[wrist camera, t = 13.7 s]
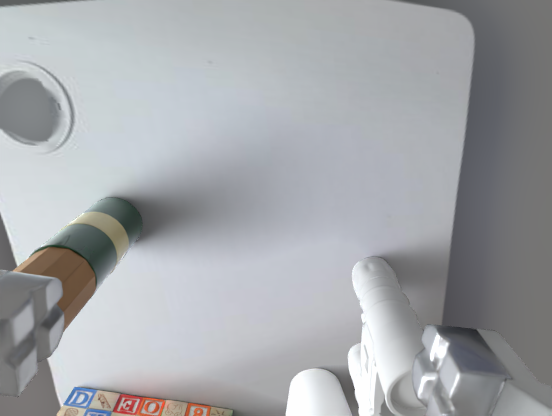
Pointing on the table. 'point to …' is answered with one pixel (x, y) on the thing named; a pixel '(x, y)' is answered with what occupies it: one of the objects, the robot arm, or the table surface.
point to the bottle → (100, 235)
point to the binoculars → (384, 344)
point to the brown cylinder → (64, 277)
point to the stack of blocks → (130, 405)
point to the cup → (316, 395)
